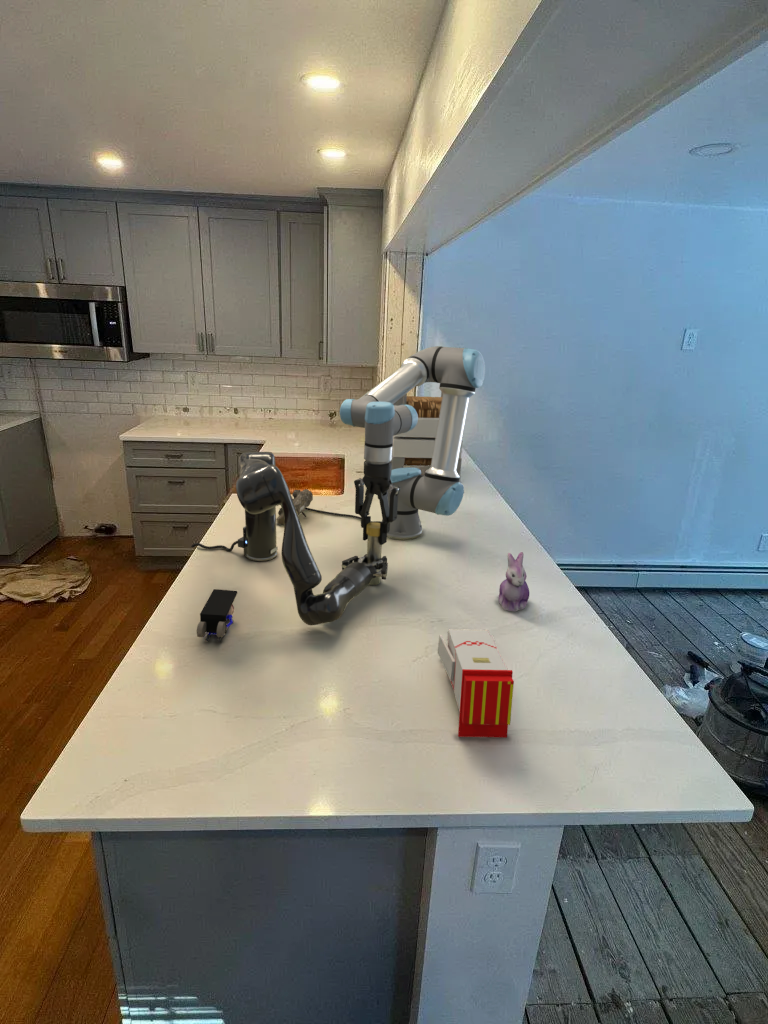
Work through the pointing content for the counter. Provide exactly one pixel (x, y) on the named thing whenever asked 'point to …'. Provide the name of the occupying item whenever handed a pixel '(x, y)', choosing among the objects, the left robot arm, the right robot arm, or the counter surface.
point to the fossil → (298, 503)
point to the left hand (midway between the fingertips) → (377, 557)
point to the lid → (373, 529)
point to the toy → (478, 682)
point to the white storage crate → (419, 434)
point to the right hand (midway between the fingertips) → (374, 540)
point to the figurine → (514, 585)
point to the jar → (373, 554)
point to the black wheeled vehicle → (217, 614)
